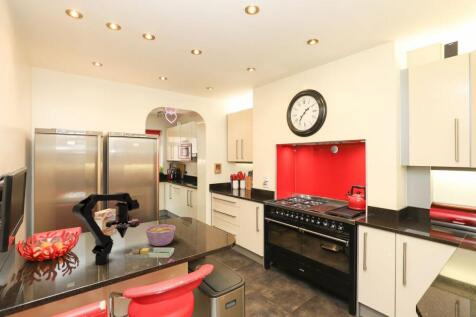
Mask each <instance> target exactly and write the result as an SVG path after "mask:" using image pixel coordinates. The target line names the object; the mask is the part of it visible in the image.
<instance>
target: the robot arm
mask: <svg viewBox="0 0 476 317" xmlns="http://www.w3.org/2000/svg"><path fill="white" fill-rule="evenodd" d="M107 201H109V202H111V201H113V202H114V201H115V202H116V203H115V204H114V207H117V215H116V218H117V220H116V219H115V220H111V221H109V222H107V223H106V227H111V226H112V225H115V230H117V233H118V234H119V236H120V237H121V239H124V238H125V235H126V232H127V230H128V228H137V227H139V226H140V221H139V220H133V215H130V213H129V212H132V211H136V210H139V208H140V203H139V201H138V199H134V198H132V197H131V195H130V193H129V192H124V191H123V192H121V191H119V192H116V193H91V194H89V195H88V196H87V197H85V198H84V199H82V200H81V201H80V202H78V203H77V204H75V205H74V206H73V207H72V209H71V212H72V213H73V215H75V217H77V218H78V219H80V220H81V221H82V222H83V223H84V225H85V226H86V228H87V229H88V230H89V232H90V234H91V235H92V236H93V238H94V239H95V240H94V244H95V245H94V247H93V249H92V250H91V252H92V254H93V255H94V256H95V257H94V258H95V265H94V266H102V265H105V264H107V263H108V258H109V256H108V255H109V254H111V253H112V249H113V246H114V239H112V237H111V236H112V235H105V234H104V233H103V232H102V230H101V229H100V227H99V226H98V224H97V223H96V221H95V217H93V214H94V213H93V212H94V211H93V209H94V208H95V207H96V204H97V203H98V202H107Z"/></svg>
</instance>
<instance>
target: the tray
mask: <svg viewBox="0 0 476 317" xmlns="http://www.w3.org/2000/svg"><path fill="white" fill-rule="evenodd" d="M153 248H154V252H153V253H148V258H165V259H166V258H171V257H172V255H173V254H174V253H175V248H174V247H153Z"/></svg>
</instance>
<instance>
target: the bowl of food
mask: <svg viewBox="0 0 476 317" xmlns="http://www.w3.org/2000/svg"><path fill="white" fill-rule="evenodd" d="M175 231H176V226H175V225H173V224H165V223H163V224H155V225H151V226H148V227H146V228H145V233H146V237H147V240H148V243H149V244H150V245H151V246H152V247H153V246H154V247H163V246H167V245H169V244H171V242H172V241H173V238H174V236H175Z"/></svg>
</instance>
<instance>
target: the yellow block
mask: <svg viewBox="0 0 476 317" xmlns="http://www.w3.org/2000/svg"><path fill="white" fill-rule="evenodd" d="M142 248H143V249H141V250H140V254H148V253H149V248H150V247H142Z"/></svg>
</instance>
